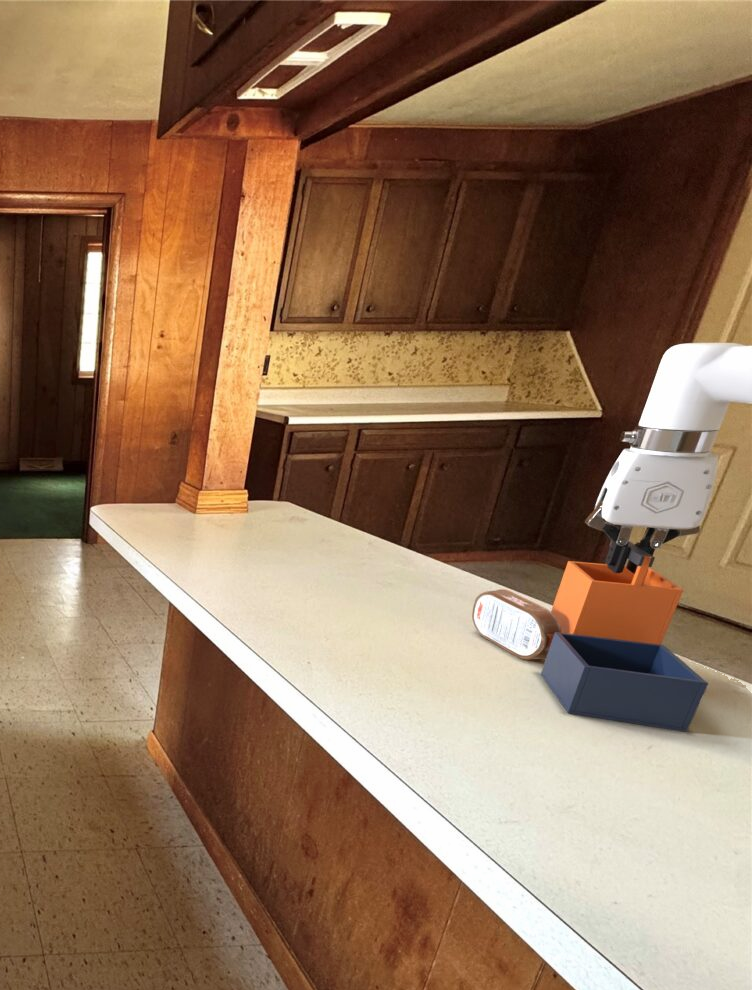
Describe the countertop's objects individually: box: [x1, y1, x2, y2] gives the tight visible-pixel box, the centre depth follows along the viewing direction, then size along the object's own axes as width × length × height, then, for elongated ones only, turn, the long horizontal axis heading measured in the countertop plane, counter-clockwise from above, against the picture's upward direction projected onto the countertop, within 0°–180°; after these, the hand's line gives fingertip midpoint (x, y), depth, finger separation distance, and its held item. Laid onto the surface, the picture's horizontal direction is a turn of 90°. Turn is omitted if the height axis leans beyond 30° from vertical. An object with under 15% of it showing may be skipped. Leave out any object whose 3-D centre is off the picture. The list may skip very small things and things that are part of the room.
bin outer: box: [540, 632, 709, 733], centre depth 89 cm, size 12×12×7 cm
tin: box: [471, 588, 562, 661], centre depth 105 cm, size 15×3×8 cm, turn 179°
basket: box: [550, 540, 684, 645], centre depth 96 cm, size 10×10×15 cm
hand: (623, 570), depth 95 cm, fingers closed on basket, 1 cm apart
